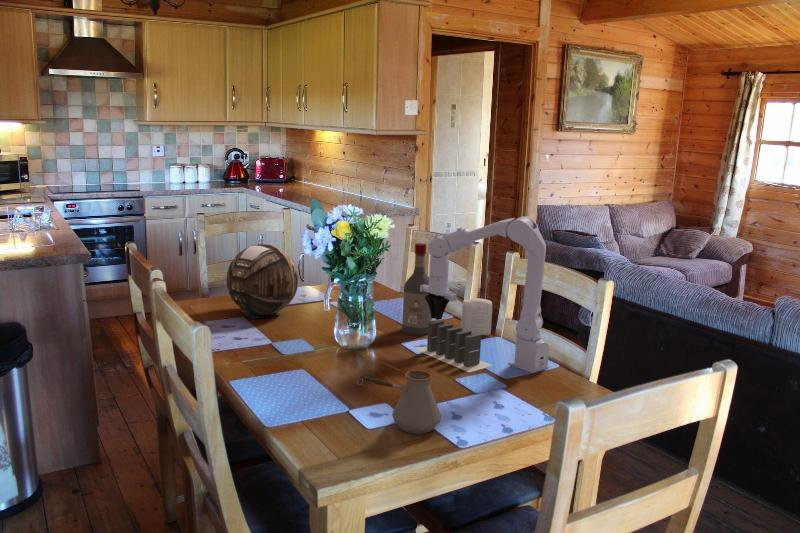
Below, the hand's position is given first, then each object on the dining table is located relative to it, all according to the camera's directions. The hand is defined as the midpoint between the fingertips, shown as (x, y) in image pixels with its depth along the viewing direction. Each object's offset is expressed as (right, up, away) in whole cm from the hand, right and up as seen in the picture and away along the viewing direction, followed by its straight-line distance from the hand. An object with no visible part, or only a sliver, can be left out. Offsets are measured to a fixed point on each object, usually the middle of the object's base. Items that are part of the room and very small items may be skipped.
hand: (436, 318), depth 215 cm
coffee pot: (-12, -22, -54) cm, 59 cm away
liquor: (-6, -6, +21) cm, 22 cm away
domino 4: (+7, -12, -7) cm, 16 cm away
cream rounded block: (+14, -7, +20) cm, 26 cm away
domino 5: (+10, -13, -10) cm, 19 cm away
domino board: (+5, -12, -4) cm, 13 cm away
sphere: (-60, -1, +35) cm, 70 cm away
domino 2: (+2, -11, -1) cm, 11 cm away
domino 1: (0, -10, +2) cm, 10 cm away
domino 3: (+5, -11, -4) cm, 13 cm away
